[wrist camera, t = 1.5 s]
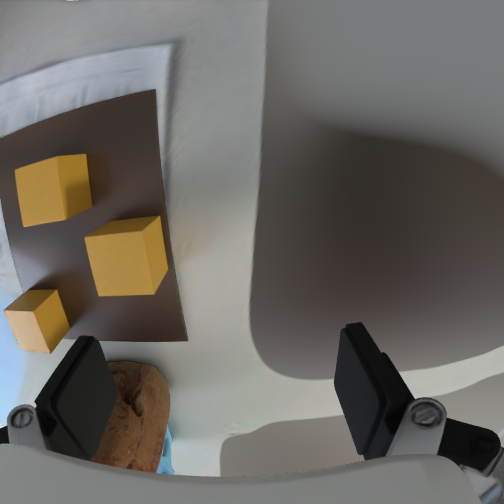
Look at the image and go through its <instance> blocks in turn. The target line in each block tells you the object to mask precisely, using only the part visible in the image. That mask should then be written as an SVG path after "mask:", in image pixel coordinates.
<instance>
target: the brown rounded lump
mask: <svg viewBox="0 0 504 504" xmlns="http://www.w3.org/2000/svg"><path fill="white" fill-rule="evenodd" d="M107 363H108V366H109V368H110V370H111V373H112V375H113V377H114V380H115V382H116V384H117V386H118V389H119V396H118V398H117V401H116V403H115V406H114V408H113V411H112V413H111V416H110V418H109V421H108V423H107V426H106V428H105V431H104V434H103V436H102V439H101V441H100V444H99V447H98V450H97V452H96V455H95V456H94V457H92V458H91V461H90V462H94V463H99V464H103V465H108V466H113V467H119V468H124V469H130V470H137V471H144V472H152V473H156V472H157V470H158V467H159V463H160V459H161V455H162V450H163V445H164V440H165V436H166V431H167V425H168V419H169V412H170V394H169V390H168V383H167V381H166V380H165V378H164V376H163V375H162V374H161V373H160V372H159V371H158V369H157V368H156V367H154V366H152V365H147V364H139V363H133V362H130V361H120V362H107Z"/></svg>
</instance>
